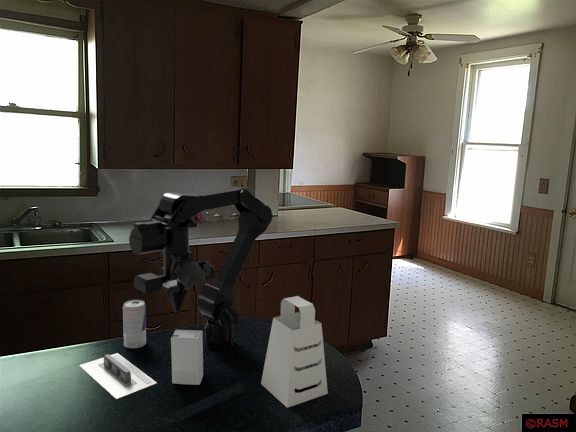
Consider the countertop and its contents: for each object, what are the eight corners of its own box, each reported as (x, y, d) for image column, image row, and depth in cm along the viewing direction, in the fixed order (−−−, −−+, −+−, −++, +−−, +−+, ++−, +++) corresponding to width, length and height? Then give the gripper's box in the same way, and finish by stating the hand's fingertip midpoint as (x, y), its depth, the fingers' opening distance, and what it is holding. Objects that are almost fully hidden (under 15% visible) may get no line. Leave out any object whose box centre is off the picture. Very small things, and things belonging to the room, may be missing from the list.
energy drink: (148, 344, 119) (148, 299, 117) (142, 354, 114) (142, 307, 111) (127, 343, 119) (126, 299, 117) (120, 353, 113) (119, 307, 111)
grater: (299, 371, 108) (303, 290, 105) (327, 393, 100) (333, 305, 96) (260, 383, 102) (263, 297, 99) (287, 407, 94) (291, 314, 90)
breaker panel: (117, 358, 111) (117, 352, 110) (157, 389, 99) (157, 382, 98) (79, 371, 104) (79, 364, 104) (116, 405, 92) (116, 398, 92)
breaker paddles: (109, 363, 105) (108, 353, 105) (130, 381, 98) (130, 370, 98) (103, 365, 104) (103, 355, 104) (125, 383, 97) (125, 372, 97)
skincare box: (203, 380, 103) (204, 329, 101) (199, 391, 98) (200, 338, 96) (175, 379, 103) (175, 328, 101) (170, 390, 98) (170, 336, 96)
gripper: (158, 262, 95) (159, 333, 98) (230, 248, 108) (229, 311, 111) (132, 251, 103) (133, 317, 106) (201, 239, 116) (201, 298, 119)
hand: (176, 311), depth 110 cm, fingers closed
